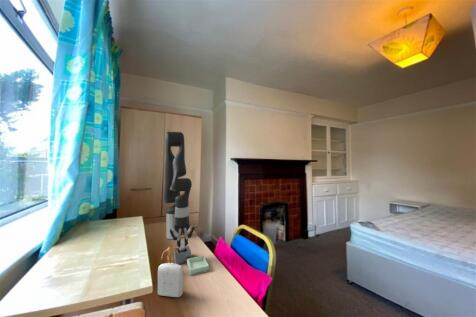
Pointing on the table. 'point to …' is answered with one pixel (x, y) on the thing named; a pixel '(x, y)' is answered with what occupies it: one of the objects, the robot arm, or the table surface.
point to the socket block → (182, 255)
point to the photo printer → (170, 280)
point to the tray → (197, 265)
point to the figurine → (169, 253)
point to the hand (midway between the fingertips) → (182, 246)
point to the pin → (182, 242)
